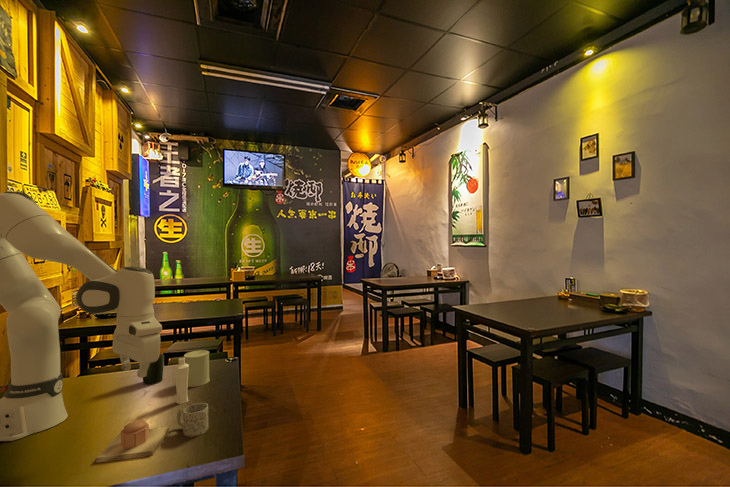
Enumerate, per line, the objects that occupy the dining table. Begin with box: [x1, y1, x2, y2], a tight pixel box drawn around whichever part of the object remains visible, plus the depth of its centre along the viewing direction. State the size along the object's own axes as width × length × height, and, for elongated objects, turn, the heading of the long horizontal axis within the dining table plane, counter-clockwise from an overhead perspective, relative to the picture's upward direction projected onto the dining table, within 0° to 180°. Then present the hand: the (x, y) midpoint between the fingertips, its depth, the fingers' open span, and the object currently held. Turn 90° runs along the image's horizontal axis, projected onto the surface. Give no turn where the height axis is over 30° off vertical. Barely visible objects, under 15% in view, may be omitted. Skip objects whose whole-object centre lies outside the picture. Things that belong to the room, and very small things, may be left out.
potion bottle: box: [142, 343, 165, 386], centre depth 137 cm, size 8×8×18 cm
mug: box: [176, 402, 209, 438], centre depth 100 cm, size 10×7×7 cm
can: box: [183, 349, 211, 388], centre depth 136 cm, size 9×9×12 cm
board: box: [95, 426, 171, 464], centre depth 93 cm, size 13×12×1 cm
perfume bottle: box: [173, 357, 189, 405], centre depth 119 cm, size 5×4×15 cm
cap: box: [120, 419, 150, 448], centre depth 93 cm, size 6×6×4 cm
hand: (133, 373), depth 96 cm, fingers open, 8 cm apart
